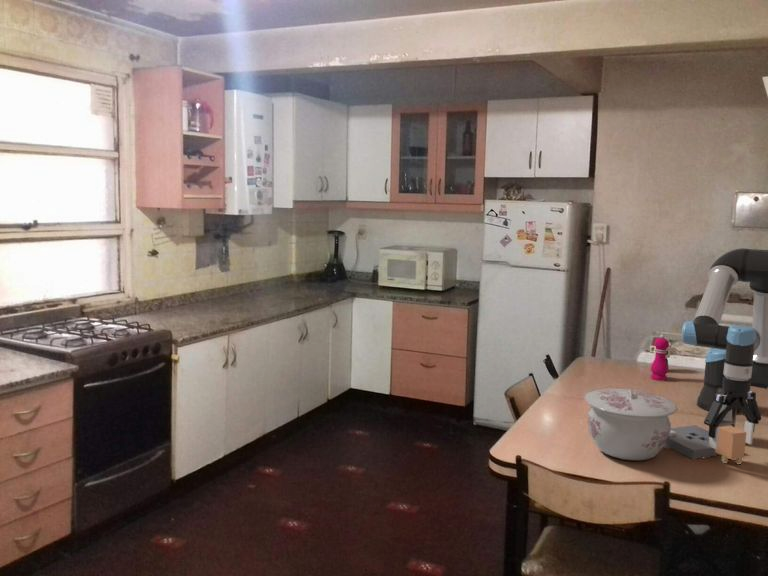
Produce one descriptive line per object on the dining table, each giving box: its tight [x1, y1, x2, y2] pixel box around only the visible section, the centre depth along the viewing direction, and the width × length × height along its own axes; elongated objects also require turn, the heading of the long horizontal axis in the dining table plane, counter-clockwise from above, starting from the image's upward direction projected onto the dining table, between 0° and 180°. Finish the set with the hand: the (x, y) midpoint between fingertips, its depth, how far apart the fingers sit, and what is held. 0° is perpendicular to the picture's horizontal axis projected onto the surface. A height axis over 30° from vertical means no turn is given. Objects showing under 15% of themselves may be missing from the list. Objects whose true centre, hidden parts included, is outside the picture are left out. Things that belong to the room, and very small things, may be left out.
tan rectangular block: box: [715, 426, 746, 464], centre depth 208 cm, size 5×6×10 cm
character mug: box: [649, 342, 676, 366], centre depth 313 cm, size 11×7×13 cm, turn 63°
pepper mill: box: [650, 334, 670, 382], centre depth 299 cm, size 7×7×20 cm
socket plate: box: [664, 424, 721, 460], centre depth 221 cm, size 18×18×4 cm
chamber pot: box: [584, 388, 678, 462], centre depth 213 cm, size 28×28×21 cm
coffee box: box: [714, 388, 737, 428], centre depth 228 cm, size 9×6×16 cm
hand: (730, 445), depth 207 cm, fingers open, 13 cm apart
